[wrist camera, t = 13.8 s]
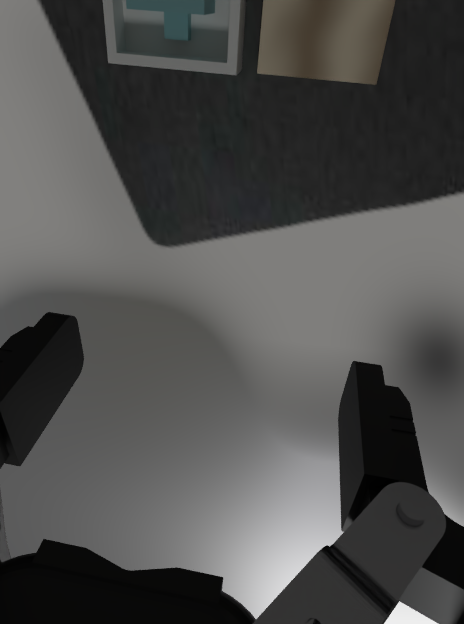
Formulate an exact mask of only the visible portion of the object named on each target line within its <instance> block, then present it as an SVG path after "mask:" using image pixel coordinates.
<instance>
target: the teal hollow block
mask: <svg viewBox="0 0 464 624" xmlns="http://www.w3.org/2000/svg"><path fill="white" fill-rule="evenodd" d="M126 8H127V9H135V10H147V11H160V12H164V35H165V39H172V40H184V41H189V40H191V14H199V15H207V14H213V13H215V0H126Z"/></svg>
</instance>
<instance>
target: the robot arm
mask: <svg viewBox="0 0 464 624" xmlns="http://www.w3.org/2000/svg"><path fill="white" fill-rule="evenodd" d="M83 361H84V356H83V349H82V344H81V339H80V333H79V327H78V322H77V319H76V318H75V317H74V316H70V315H64V314H58V313H51V312H48V313H46V314H45V315H44V316H43V317H42V318H41V319H40V321H39V322H38V323H37V324H36V325H35V326H34V327H29V326H28V327H26V328H24V329H23V330H21V331H19V332H18V333H16V334H14V335H12V336H11V337H10V338H9V339H8V340H7V341H6V342H5V343H4V345H3V346H2V347H1V348H0V468H1V467H2V465H3V464H4V463H6V464H11V465H16V466H21V464H22V463H23V461H24V460H25V458H26V457H27V455H28V454H29V452H30V451H31V449H32V447H33V446H34V444H35V443H36V441H37V440H38V438H39V437H40V435H41V434H42V432H43V431H44V429H45V428H46V426H47V424H48V423H49V421H50V420H51V418H52V417H53V415H54V414H55V412H56V411H57V409H58V407H59V406H60V404H61V403H62V401H63V400H64V398H65V397H66V395H67V394H68V392H69V391H70V389H71V387H72V386H73V384H74V383H75V381H76V380H77V378H78V376H79V375H80V373H81V370H82V367H83ZM338 424H339V425H338V426H339V458H340V459H339V461H340V495H341V528H342V531H344V533H343V534H342V535H341V536H340V537H339V538H338V540H337V541H336V542H335V543H334V544H333V545H331V546H330V547H329V546H325V547H323V548H322V549H321V550H320V551H319V552H318V553H317V554H316V555H315V556H314V557H313V558H312V559H311V560H310V561H309V563H308V564H307V565H306V566H305V567H304V568H303V569H302V570H301V571H300V572H299V573H298V575H297V576H296V577H295V578H294V579H293V580H292V581H291V582H290V583H289V584H288V585H287V587H286V588H285V589H284V590H283V591H282V592H281V593H280V594H279V595H278V596H277V598H276V599H275V600H274V601H273V602H272V603H271V604H270V605H269V606H268V607H267V608H266V610H265V611H264V612H263V613H262V614H261V615H260V616H259V617H258V618H257V619H255V618H254V617H253V615H252V614H251V613H250V612H249V611H248V610H247V609H246V608H245V607H244V606H243V605H242V604H241V603H239V602H238V601H237V600H235V599H234V598H233V597H231V596H230V595H228V594H226V593H224V592H223V591H222V583H223V577H219V576H214V575H209V574H205V573H200V572H195V571H190V570H186V569H181V568H166V569H150V570H135V571H128V570H125V569H122V568H121V567H119V566H117V565H115V564H113V563H112V562H110V561H108V560H106V559H105V558H103V557H101V556H99V555H98V554H96V553H94V552H92V551H90V550H88V549H87V548H83V547H79V546H74V545H69V544H64V543H60V542H55V541H51V540H46V539H43V541H42V543H41V545H40V547H39V549H38V551H37V553H32V554H26V555H22V556H18V557H15V558H12V559H11V556H10V553H9V549H8V545H7V541H6V535H5V527H4V517H3V509H2V500H1V492H0V624H384V622H385V621H386V620H387V618H388V617H389V615H390V614H391V612H392V611H393V610H394V608H395V607H396V605H397V604H398V602H399V601H400V602H402V603H404V604H406V605H407V606H409V607H411V608H413V609H414V610H416V611H418V612H419V613H421V614H423V615H425V616H426V617H428V618H430V619H432V620H433V621H435V622H437V623H439V624H464V527H463V526H461V525H459V524H458V523H456V522H454V521H453V520H451V519H450V518H449V517H447V516H446V515H445V514H444V512H443V510H442V508H441V507H440V505H439V504H438V502H437V501H436V500H435V499H434V498H433V497H432V496H431V495H430V494H429V492H428V489H427V485H426V480H425V475H424V470H423V465H422V461H421V456H420V451H419V446H418V441H417V437H416V436H415V435H416V431H415V427H414V423H413V417H412V412H411V407H410V403H409V401H408V400H407V398H406V397H405V396H404V394H403V393H402V391H401V390H400V389H399V388H398V387H393V386H387V385H385V383H384V376H383V370H382V366H381V365H375V364H369V363H363V362H357V361H353V362H352V364H351V367H350V371H349V374H348V378H347V381H346V384H345V388H344V391H343V394H342V398H341V402H340V408H339V417H338Z"/></svg>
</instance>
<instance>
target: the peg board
mask: <svg viewBox="0 0 464 624" xmlns="http://www.w3.org/2000/svg"><path fill="white" fill-rule="evenodd" d="M394 4H395V0H263V11H262V23H261V35H260V47H259V59H258V71H257V73H258V74H269V75H280V76H290V77H301V78H311V79H322V80H333V81H343V82H354V83H364V84H375V85H376V83H377V79H378V75H379V70H380V66H381V61H382V57H383V52H384V48H385V44H386V39H387V35H388V30H389V26H390V22H391V17H392V13H393V8H394Z"/></svg>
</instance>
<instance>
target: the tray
mask: <svg viewBox="0 0 464 624" xmlns="http://www.w3.org/2000/svg"><path fill="white" fill-rule="evenodd" d="M103 9H104V20H105V31H106V42H107V53H108V63H114V64H124V65H135V66H145V67H156V68H166V69H177V70H188V71H198V72H209V73H219V74H230V75H237V74H238V73H239V72H240V71H241V70H242V59H243V43H244V28H245V13H246V0H215V13H213V14H207V15H199V14H191V40H189V41H184V40H172V39H165V35H164V12H160V11H147V10H135V9H127V8H126V0H103Z"/></svg>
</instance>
